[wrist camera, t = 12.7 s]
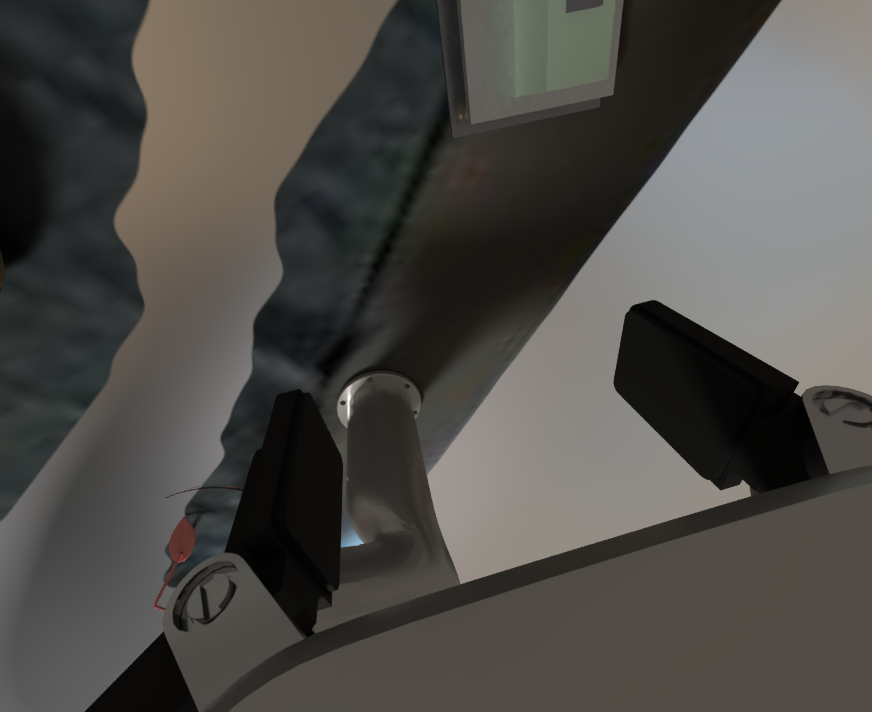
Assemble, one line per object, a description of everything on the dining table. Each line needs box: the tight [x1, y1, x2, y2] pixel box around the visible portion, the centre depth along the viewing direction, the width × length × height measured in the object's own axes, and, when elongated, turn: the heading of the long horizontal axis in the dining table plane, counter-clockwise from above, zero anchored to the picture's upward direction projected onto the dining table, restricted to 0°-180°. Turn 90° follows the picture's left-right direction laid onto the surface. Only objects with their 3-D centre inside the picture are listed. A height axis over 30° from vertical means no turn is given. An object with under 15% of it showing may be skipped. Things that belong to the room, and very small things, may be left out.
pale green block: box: [514, 0, 616, 97], centre depth 26 cm, size 9×5×7 cm, turn 9°
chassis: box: [436, 0, 623, 138], centre depth 30 cm, size 14×16×4 cm
